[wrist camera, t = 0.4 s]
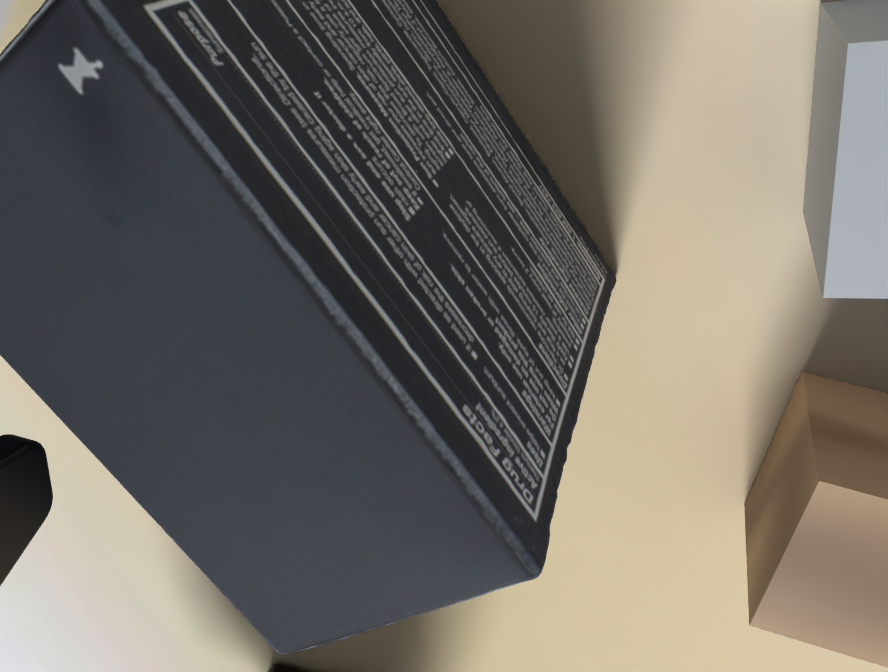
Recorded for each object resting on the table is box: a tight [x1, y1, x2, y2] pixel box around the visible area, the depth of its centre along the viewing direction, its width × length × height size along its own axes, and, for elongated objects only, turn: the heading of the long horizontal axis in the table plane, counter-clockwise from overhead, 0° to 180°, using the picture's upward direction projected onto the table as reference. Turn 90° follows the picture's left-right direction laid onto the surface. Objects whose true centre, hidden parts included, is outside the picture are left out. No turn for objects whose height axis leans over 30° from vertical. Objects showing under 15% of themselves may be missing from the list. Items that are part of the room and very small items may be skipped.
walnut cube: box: [745, 371, 888, 668], centre depth 20 cm, size 4×4×4 cm
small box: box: [0, 0, 616, 654], centre depth 17 cm, size 11×6×10 cm, turn 36°
